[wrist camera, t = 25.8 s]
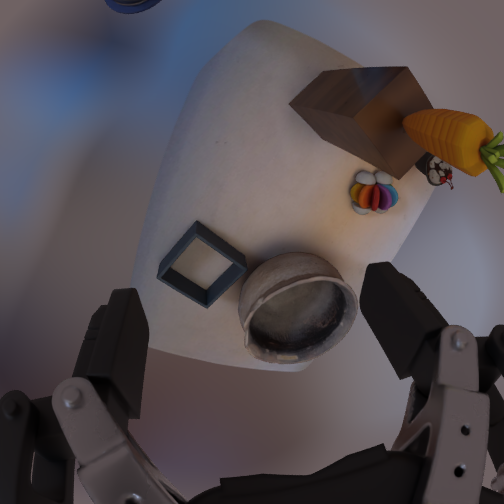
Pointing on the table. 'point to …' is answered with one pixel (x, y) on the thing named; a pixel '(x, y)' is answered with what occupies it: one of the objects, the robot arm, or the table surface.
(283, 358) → the ceramic bowl
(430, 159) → the sundae
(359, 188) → the rainbow cloud toy
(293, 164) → the table surface
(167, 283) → the square storage tray
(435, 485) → the robot arm
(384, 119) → the block
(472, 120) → the carrot
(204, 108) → the table surface
